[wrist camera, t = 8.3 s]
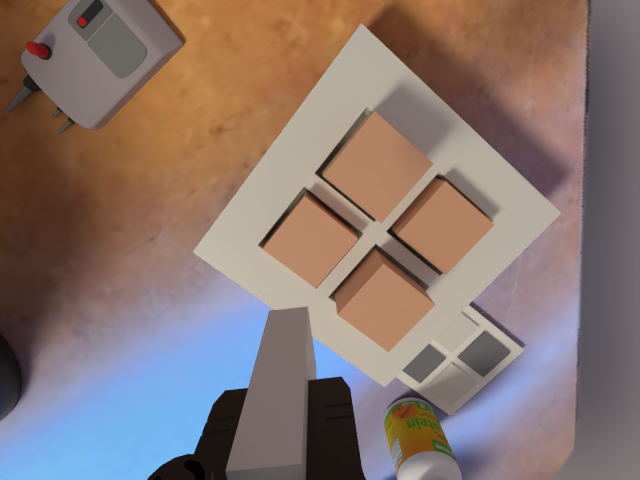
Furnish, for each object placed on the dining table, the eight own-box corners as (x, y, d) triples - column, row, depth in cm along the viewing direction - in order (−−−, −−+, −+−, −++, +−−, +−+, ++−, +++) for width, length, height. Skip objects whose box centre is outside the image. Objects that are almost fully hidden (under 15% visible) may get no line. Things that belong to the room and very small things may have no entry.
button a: (387, 224, 27) (396, 235, 24) (429, 176, 26) (445, 181, 23) (430, 260, 28) (445, 275, 25) (473, 215, 27) (494, 224, 24)
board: (207, 239, 29) (192, 252, 26) (355, 40, 25) (361, 23, 21) (377, 361, 32) (384, 387, 29) (531, 205, 28) (561, 213, 25)
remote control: (204, 29, 25) (189, 14, 22) (71, 163, 28) (42, 165, 25) (138, -52, 24) (113, -80, 21) (4, 97, 26) (-34, 91, 23)
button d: (269, 237, 27) (262, 249, 24) (306, 190, 26) (304, 196, 23) (315, 272, 28) (315, 288, 25) (353, 228, 27) (358, 239, 24)
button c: (322, 172, 24) (322, 176, 21) (366, 116, 23) (374, 111, 20) (372, 213, 25) (381, 223, 22) (417, 161, 24) (433, 163, 21)
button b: (334, 294, 27) (337, 314, 24) (375, 249, 26) (383, 263, 23) (380, 328, 28) (388, 352, 25) (421, 285, 27) (435, 304, 24)
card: (377, 361, 32) (378, 365, 32) (449, 288, 30) (451, 291, 30) (449, 413, 34) (451, 417, 34) (522, 347, 32) (525, 351, 32)
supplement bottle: (440, 399, 34) (487, 495, 24) (427, 440, 35) (466, 546, 26) (389, 392, 34) (417, 486, 24) (377, 434, 35) (400, 538, 26)
